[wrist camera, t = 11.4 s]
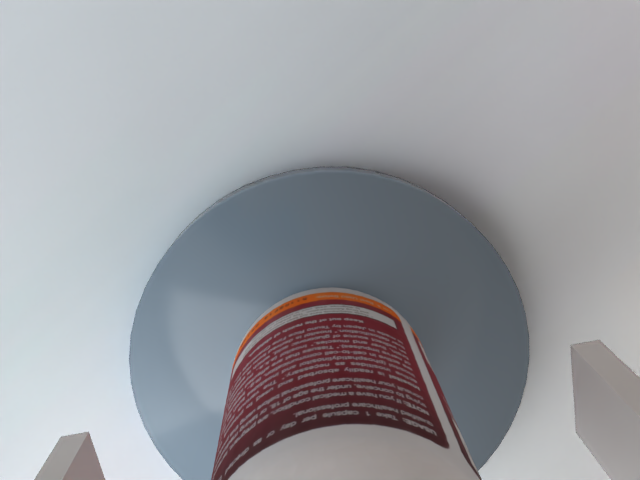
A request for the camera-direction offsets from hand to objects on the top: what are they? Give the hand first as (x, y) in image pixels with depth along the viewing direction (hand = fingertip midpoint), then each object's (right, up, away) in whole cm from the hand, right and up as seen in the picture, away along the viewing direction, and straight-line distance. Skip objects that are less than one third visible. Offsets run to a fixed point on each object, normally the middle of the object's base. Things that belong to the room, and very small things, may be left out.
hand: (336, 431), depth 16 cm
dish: (0, +1, +5) cm, 5 cm away
